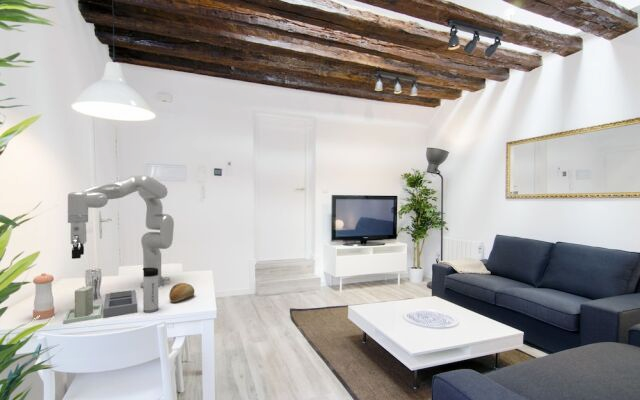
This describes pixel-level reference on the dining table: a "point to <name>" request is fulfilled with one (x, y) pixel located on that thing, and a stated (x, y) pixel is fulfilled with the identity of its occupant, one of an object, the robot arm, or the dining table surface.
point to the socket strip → (120, 303)
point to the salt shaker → (43, 297)
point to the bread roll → (181, 292)
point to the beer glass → (94, 281)
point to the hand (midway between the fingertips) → (77, 256)
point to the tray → (82, 317)
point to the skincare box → (83, 301)
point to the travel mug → (150, 289)
